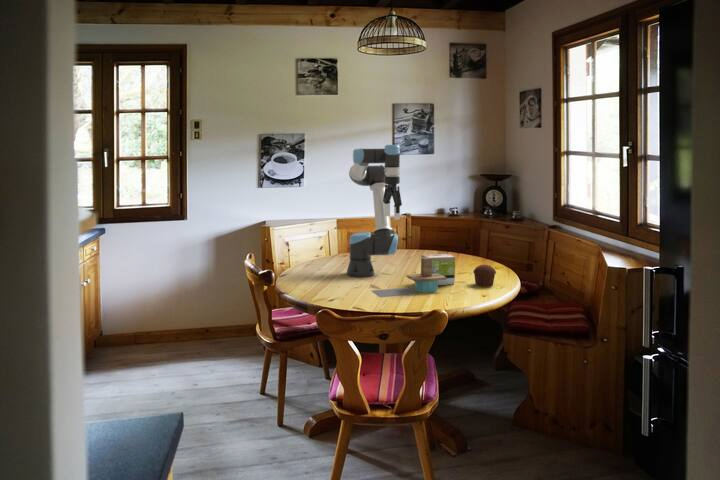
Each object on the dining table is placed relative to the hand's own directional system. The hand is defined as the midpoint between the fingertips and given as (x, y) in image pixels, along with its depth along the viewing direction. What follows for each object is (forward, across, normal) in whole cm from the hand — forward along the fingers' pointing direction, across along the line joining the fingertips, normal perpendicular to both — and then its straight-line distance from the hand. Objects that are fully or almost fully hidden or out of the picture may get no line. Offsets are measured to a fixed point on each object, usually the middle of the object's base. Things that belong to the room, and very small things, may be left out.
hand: (392, 217), depth 306 cm
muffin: (+34, +18, +44) cm, 58 cm away
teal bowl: (+34, +19, +11) cm, 41 cm away
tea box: (+34, +8, +22) cm, 42 cm away
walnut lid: (+28, +19, +11) cm, 36 cm away
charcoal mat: (+34, +19, -6) cm, 39 cm away
